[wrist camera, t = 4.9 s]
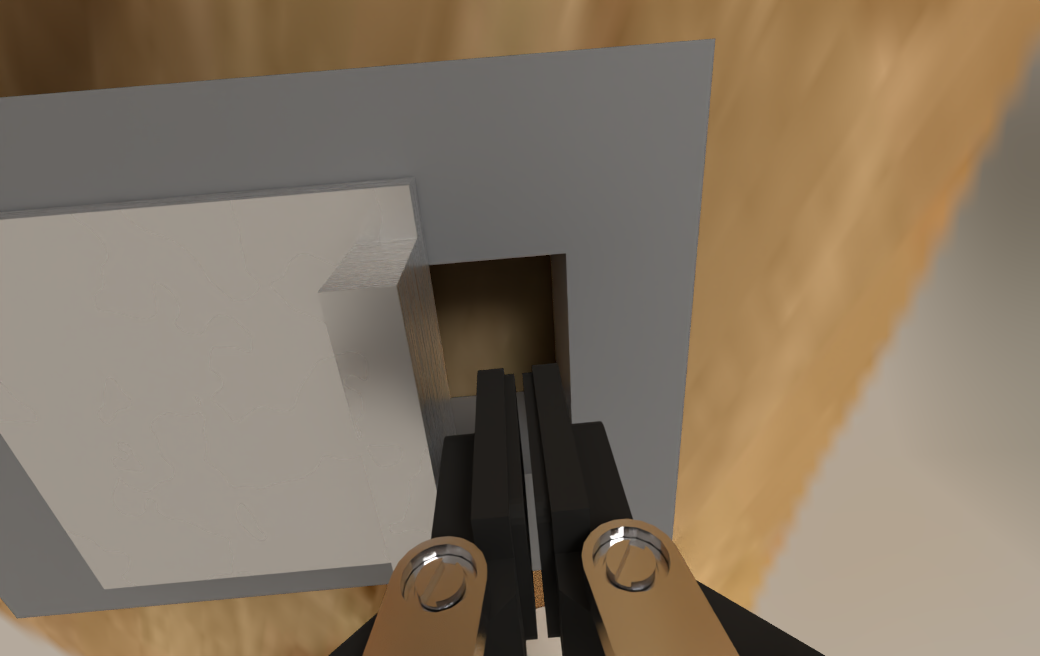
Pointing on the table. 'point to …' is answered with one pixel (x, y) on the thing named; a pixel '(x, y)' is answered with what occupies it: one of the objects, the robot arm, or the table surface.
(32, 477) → the panel
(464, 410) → the socket block
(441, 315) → the table surface
